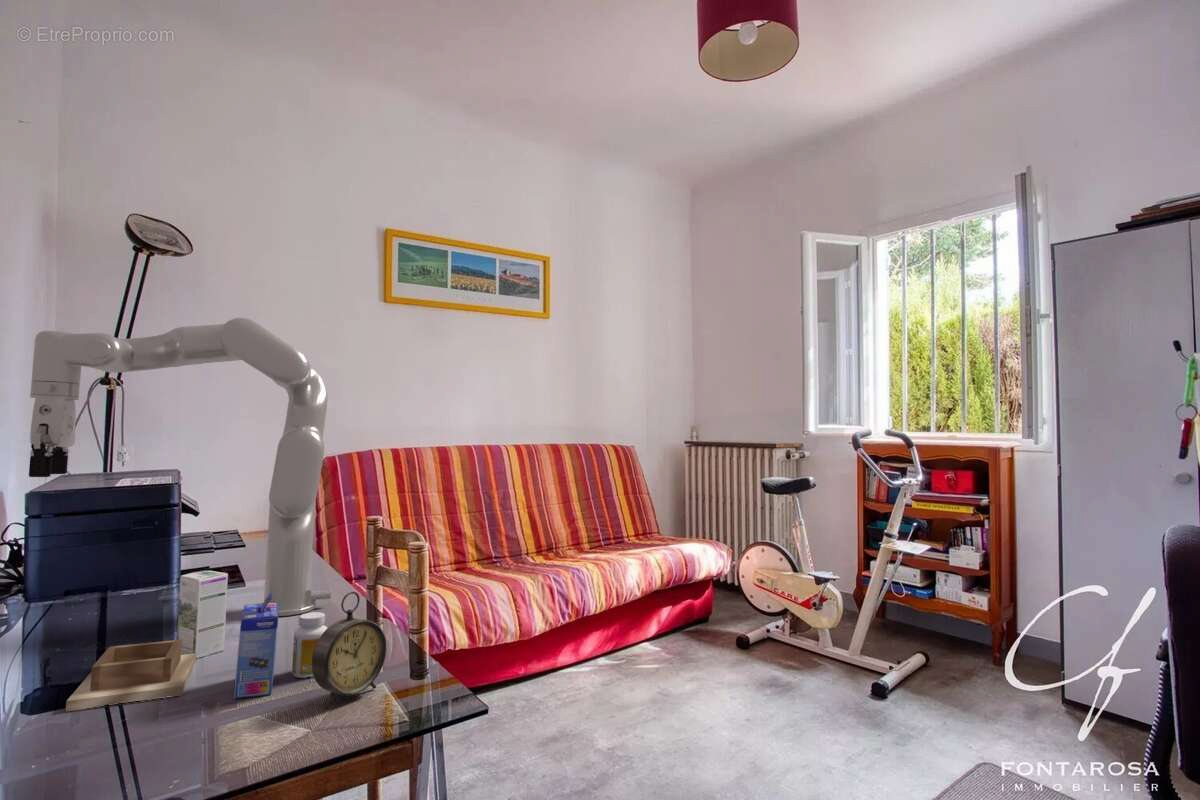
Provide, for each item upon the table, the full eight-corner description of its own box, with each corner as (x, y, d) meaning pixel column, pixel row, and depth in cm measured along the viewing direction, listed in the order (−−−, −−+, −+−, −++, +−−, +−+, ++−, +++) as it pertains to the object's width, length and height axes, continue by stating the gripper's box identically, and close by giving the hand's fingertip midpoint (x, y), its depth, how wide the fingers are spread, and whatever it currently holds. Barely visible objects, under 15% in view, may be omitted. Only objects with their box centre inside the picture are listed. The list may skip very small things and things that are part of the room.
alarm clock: (325, 714, 91) (331, 601, 92) (303, 705, 93) (309, 595, 95) (386, 689, 100) (391, 587, 101) (364, 682, 103) (369, 582, 104)
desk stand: (196, 661, 110) (197, 633, 110) (181, 696, 96) (183, 662, 96) (97, 673, 104) (99, 642, 104) (65, 711, 89) (68, 676, 90)
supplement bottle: (333, 669, 108) (336, 612, 108) (309, 680, 103) (312, 621, 103) (309, 665, 110) (312, 609, 110) (284, 676, 104) (287, 617, 105)
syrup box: (225, 650, 116) (230, 572, 117) (193, 660, 110) (198, 578, 111) (206, 645, 118) (211, 568, 119) (173, 655, 113) (179, 574, 114)
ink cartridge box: (274, 695, 97) (279, 600, 98) (233, 701, 94) (239, 604, 95) (274, 673, 106) (279, 587, 107) (237, 678, 103) (242, 590, 104)
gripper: (64, 390, 121) (57, 478, 120) (90, 395, 137) (84, 473, 135) (14, 388, 118) (6, 478, 117) (46, 393, 133) (40, 473, 132)
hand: (48, 475), depth 126 cm, fingers open, 9 cm apart
